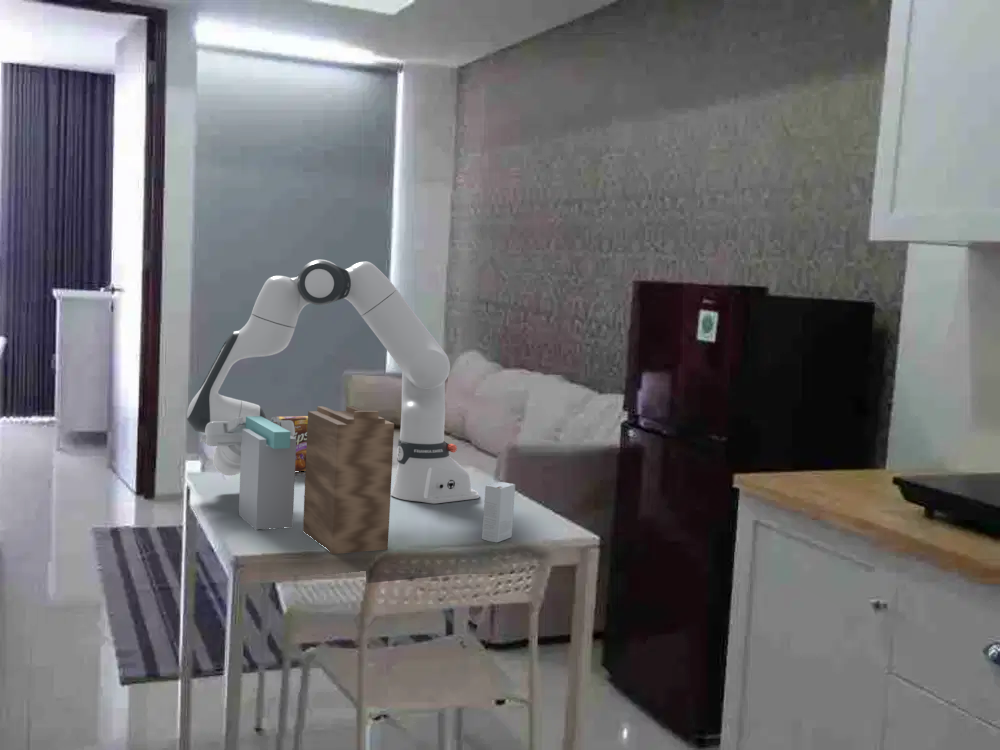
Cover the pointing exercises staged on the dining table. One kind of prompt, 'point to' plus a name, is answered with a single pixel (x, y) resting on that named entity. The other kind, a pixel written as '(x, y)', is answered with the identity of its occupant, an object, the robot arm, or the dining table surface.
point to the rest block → (266, 482)
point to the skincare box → (498, 511)
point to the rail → (269, 431)
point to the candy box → (299, 439)
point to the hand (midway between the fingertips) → (258, 420)
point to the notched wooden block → (348, 479)
